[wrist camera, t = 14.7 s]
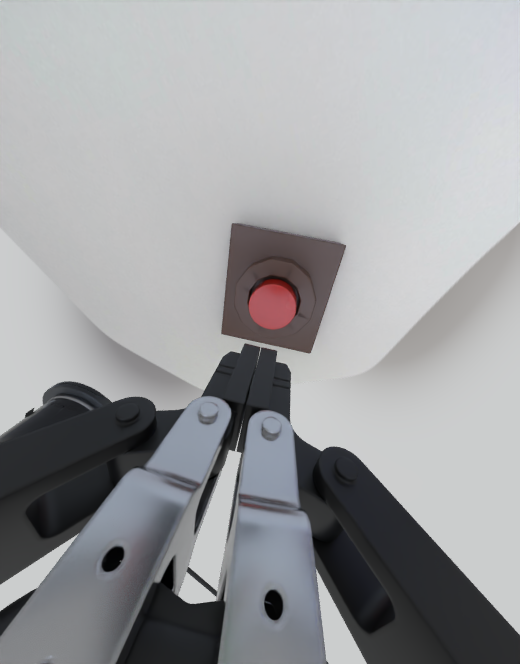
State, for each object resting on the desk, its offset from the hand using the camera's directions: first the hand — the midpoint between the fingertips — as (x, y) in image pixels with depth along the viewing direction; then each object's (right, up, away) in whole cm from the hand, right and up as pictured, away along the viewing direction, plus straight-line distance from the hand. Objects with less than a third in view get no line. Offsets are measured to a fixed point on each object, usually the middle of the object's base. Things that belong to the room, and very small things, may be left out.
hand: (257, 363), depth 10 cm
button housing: (+2, +6, +11) cm, 12 cm away
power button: (+1, +4, +8) cm, 9 cm away
